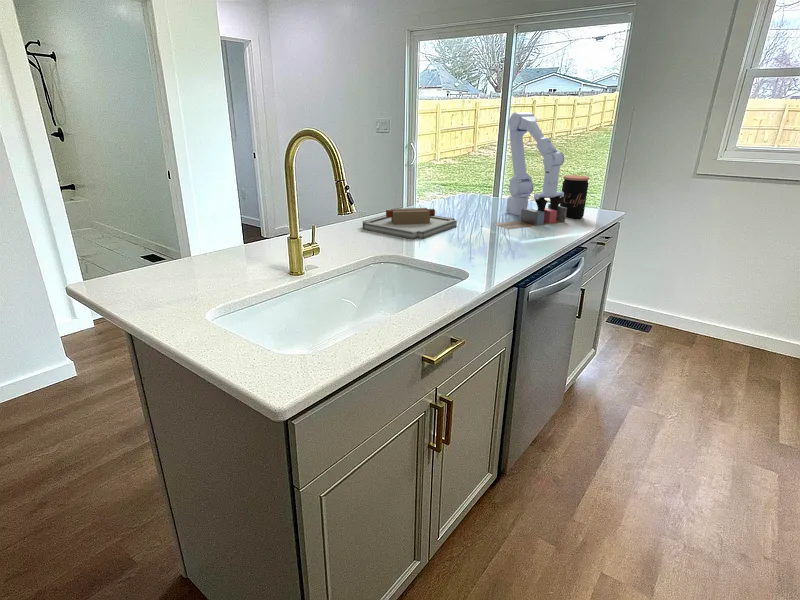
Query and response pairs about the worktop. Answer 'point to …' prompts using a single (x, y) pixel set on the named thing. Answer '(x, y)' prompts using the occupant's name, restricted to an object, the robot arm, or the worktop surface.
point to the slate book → (539, 216)
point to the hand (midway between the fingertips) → (546, 214)
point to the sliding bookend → (529, 216)
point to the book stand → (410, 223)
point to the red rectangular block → (550, 215)
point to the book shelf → (520, 224)
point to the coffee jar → (574, 195)
